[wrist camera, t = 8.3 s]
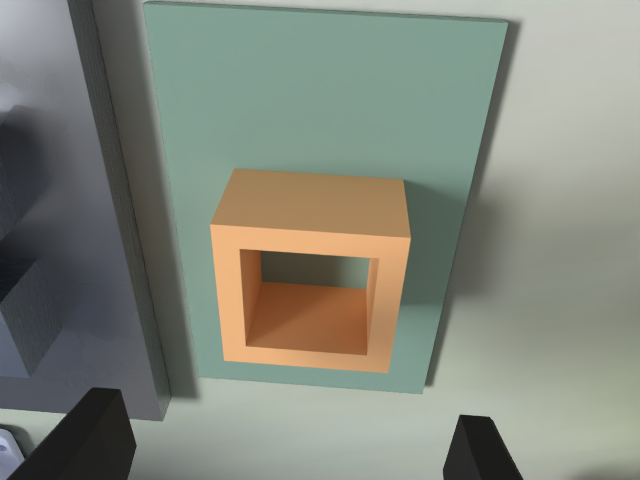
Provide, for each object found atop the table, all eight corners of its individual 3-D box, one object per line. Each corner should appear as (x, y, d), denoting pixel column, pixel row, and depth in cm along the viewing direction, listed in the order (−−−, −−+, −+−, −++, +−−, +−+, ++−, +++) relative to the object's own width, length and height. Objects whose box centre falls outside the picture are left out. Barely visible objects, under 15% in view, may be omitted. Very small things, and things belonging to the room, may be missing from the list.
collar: (384, 305, 18) (388, 373, 16) (242, 295, 18) (223, 360, 16) (403, 179, 15) (411, 237, 13) (233, 168, 15) (209, 224, 13)
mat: (421, 386, 21) (422, 394, 21) (201, 369, 21) (198, 377, 21) (504, 19, 13) (508, 23, 13) (148, 0, 13) (142, 4, 13)
